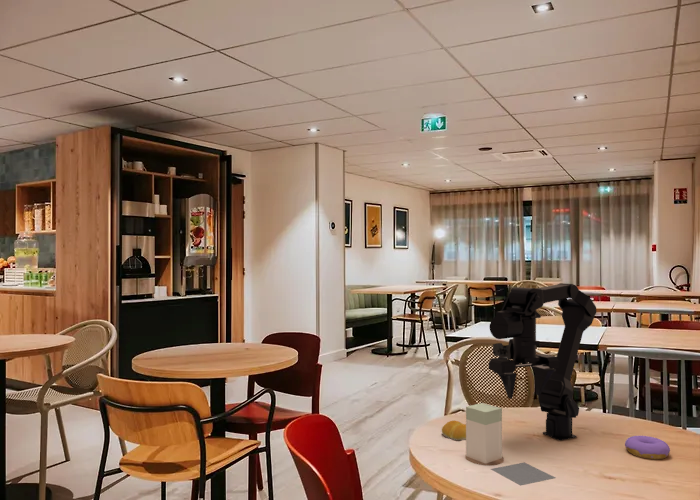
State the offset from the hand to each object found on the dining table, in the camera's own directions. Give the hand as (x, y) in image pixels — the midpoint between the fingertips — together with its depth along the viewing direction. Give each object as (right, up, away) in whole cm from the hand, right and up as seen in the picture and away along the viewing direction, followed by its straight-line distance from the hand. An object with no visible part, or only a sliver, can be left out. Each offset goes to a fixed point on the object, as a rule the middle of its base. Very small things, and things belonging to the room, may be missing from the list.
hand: (524, 396), depth 143 cm
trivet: (-12, -13, -9) cm, 20 cm away
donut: (+29, -13, -4) cm, 33 cm away
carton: (-12, -12, -9) cm, 20 cm away
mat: (-6, -13, -18) cm, 23 cm away
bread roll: (-15, -14, +9) cm, 22 cm away
